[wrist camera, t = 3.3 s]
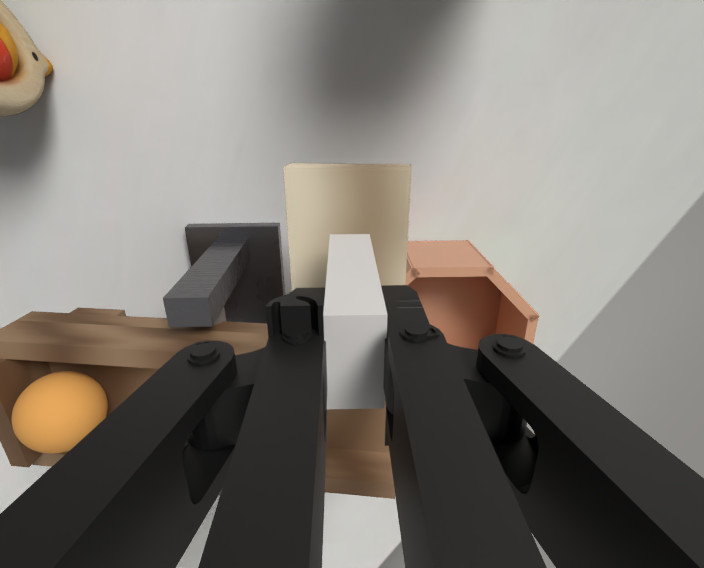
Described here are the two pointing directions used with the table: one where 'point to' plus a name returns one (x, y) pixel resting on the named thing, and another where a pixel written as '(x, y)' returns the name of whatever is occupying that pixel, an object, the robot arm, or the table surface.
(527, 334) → the terracotta octagonal bowl
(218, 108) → the table surface
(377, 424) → the lever
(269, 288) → the lever stand
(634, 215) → the table surface
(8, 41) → the bird rattle
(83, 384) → the ball
